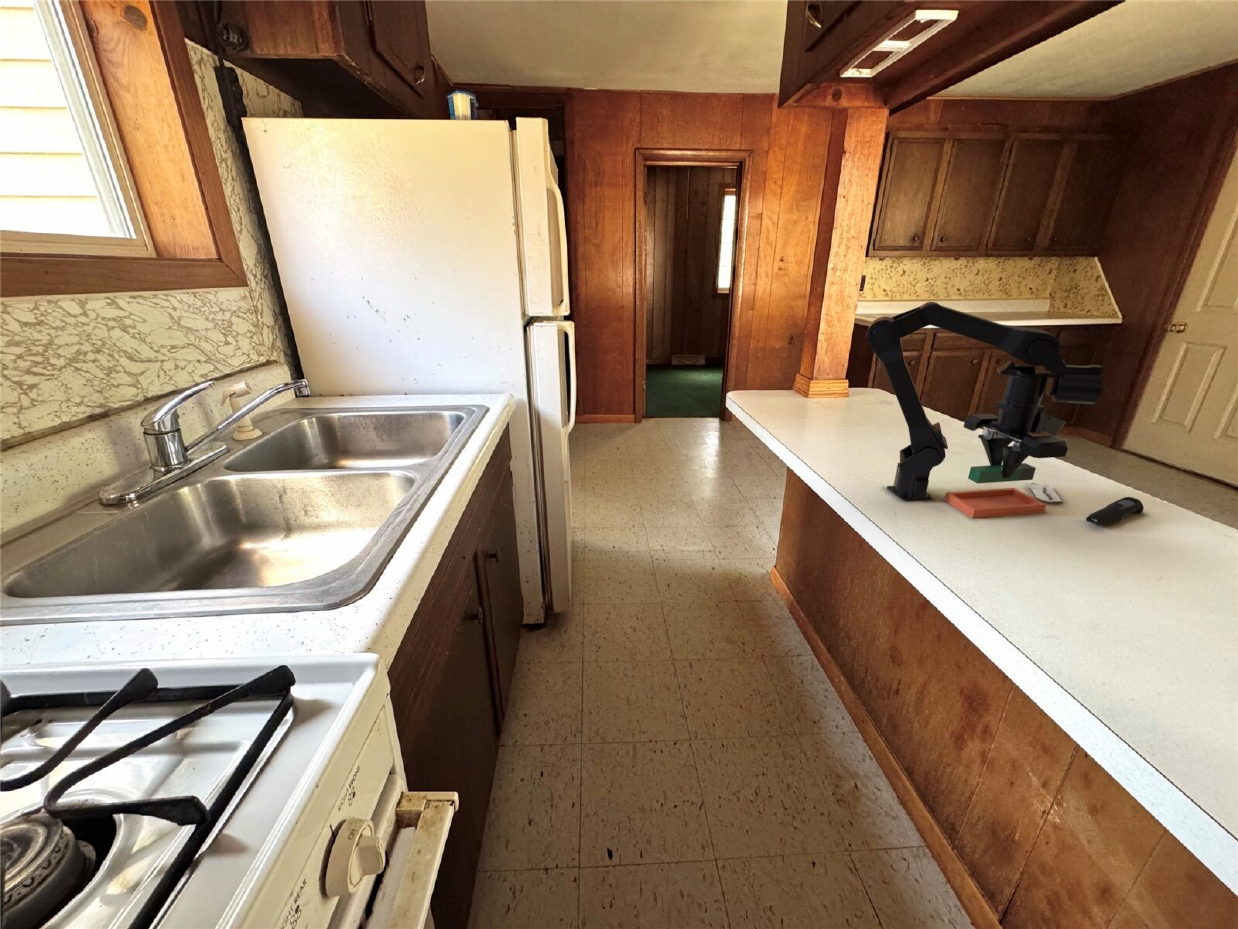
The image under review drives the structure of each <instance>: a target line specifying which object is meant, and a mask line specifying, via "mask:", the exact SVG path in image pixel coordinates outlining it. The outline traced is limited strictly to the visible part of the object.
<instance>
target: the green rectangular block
mask: <svg viewBox="0 0 1238 929" xmlns="http://www.w3.org/2000/svg"><path fill="white" fill-rule="evenodd" d="M1036 470H1037V467H1035V466H1033V465H1030V464H1028V463H1026V462H1022V463H1021V465H1020V466H1019V467H1018V468H1017V469H1016V471H1015V472H1014V473H1013V474H1012V475H1011V477H1009V478H1004V477H1003V464H1002V465H990V464H989V465H976V466H970V469H969V473H968V478H967V479H969V480H970V481H972V482H974V483H976V484H978V485H979V484H991V483H1007V482H1019V481H1033V479H1034V475H1035V473H1036Z"/></svg>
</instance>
